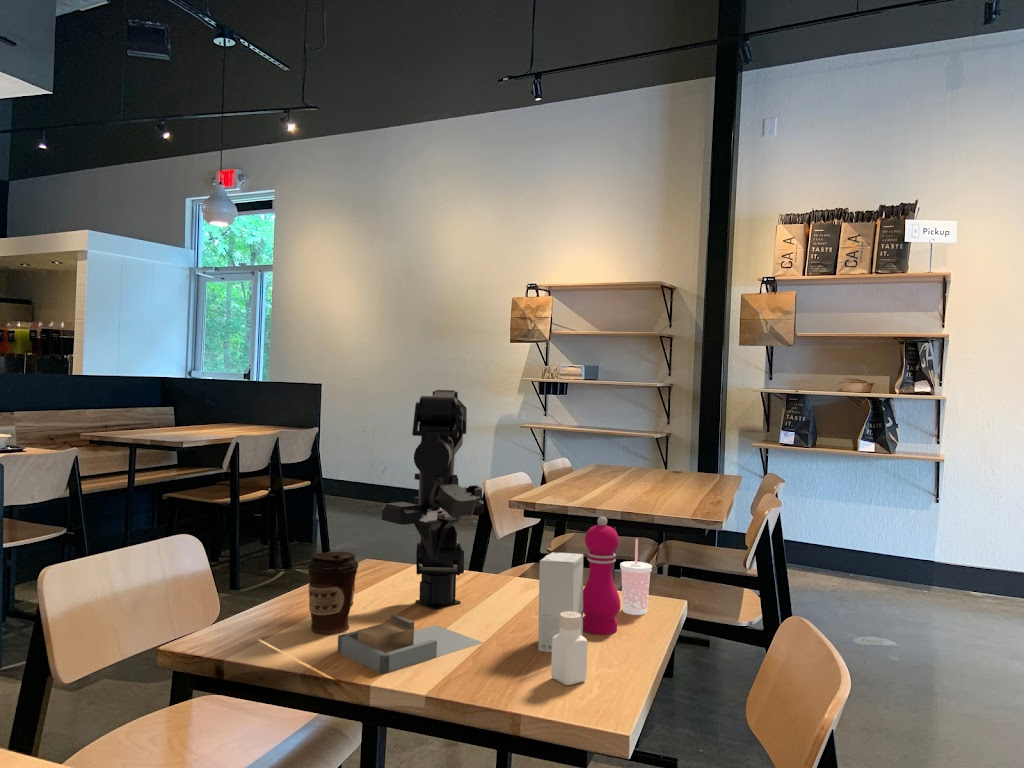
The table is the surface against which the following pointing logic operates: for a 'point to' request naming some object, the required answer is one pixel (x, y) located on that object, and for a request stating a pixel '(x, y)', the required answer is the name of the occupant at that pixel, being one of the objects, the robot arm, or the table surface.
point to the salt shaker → (569, 651)
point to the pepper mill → (601, 580)
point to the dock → (405, 649)
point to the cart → (389, 634)
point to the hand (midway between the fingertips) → (433, 558)
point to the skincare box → (558, 593)
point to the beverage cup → (635, 585)
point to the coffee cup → (331, 591)
